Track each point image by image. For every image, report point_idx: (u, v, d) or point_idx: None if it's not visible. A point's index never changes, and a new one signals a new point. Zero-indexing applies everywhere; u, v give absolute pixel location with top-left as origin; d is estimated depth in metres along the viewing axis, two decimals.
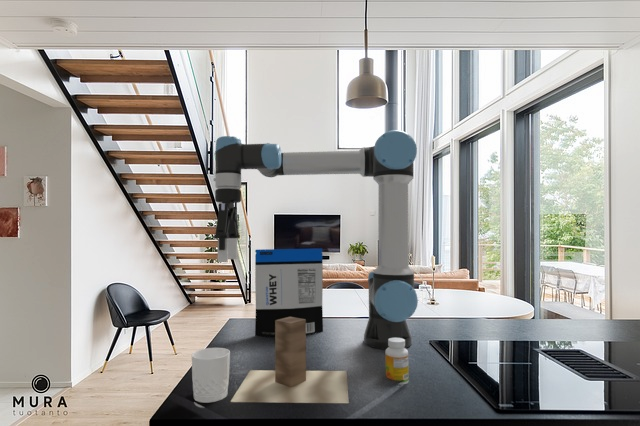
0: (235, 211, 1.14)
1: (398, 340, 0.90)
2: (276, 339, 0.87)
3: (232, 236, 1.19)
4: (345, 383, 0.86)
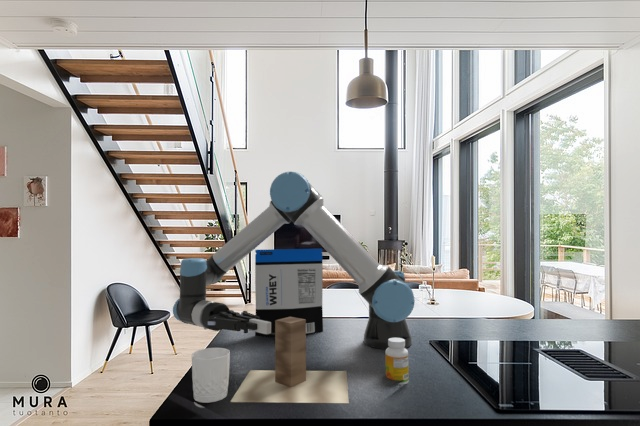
0: (229, 310, 1.04)
1: (398, 340, 0.90)
2: (276, 339, 0.87)
3: None
4: (345, 383, 0.86)
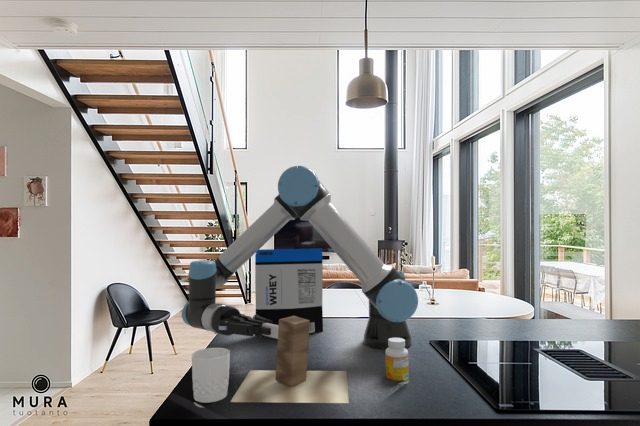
0: (240, 314, 1.01)
1: (398, 340, 0.90)
2: (279, 338, 0.87)
3: None
4: (345, 383, 0.86)
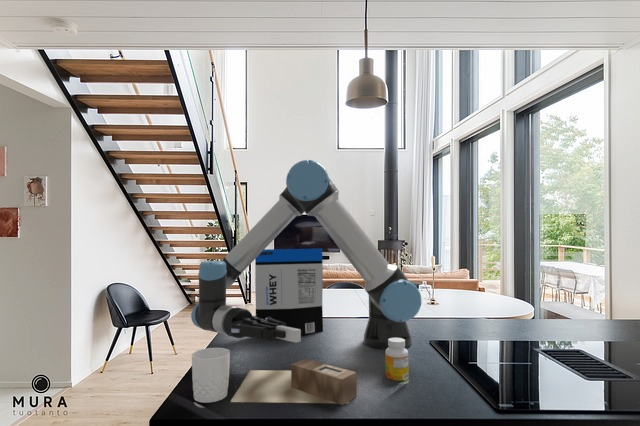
0: (252, 316, 0.98)
1: (398, 340, 0.90)
2: (325, 376, 0.78)
3: None
4: None
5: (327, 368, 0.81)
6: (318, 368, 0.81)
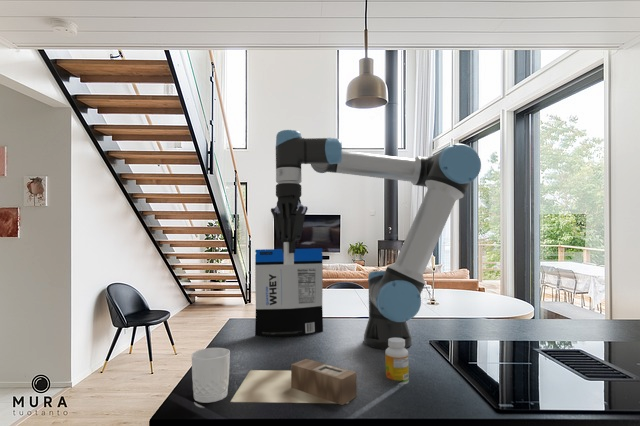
0: None
1: (398, 340, 0.90)
2: (325, 376, 0.78)
3: (286, 240, 1.11)
4: None
5: (327, 368, 0.81)
6: (318, 368, 0.81)
